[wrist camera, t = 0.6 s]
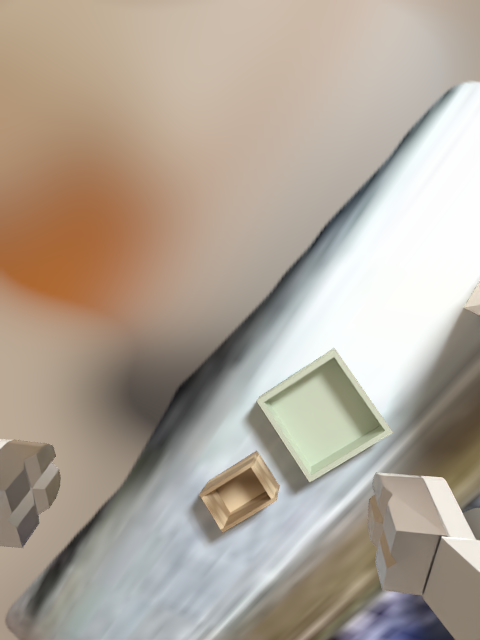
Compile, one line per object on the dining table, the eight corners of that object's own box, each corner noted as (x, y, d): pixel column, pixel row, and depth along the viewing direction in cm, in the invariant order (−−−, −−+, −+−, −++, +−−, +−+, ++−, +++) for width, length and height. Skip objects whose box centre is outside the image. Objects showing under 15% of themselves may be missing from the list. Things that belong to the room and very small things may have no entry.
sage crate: (387, 425, 54) (393, 432, 50) (309, 471, 56) (309, 482, 52) (333, 348, 56) (335, 349, 52) (260, 396, 58) (256, 400, 54)
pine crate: (279, 485, 57) (276, 500, 52) (230, 515, 58) (222, 532, 53) (257, 450, 57) (251, 462, 53) (208, 480, 59) (199, 494, 54)
